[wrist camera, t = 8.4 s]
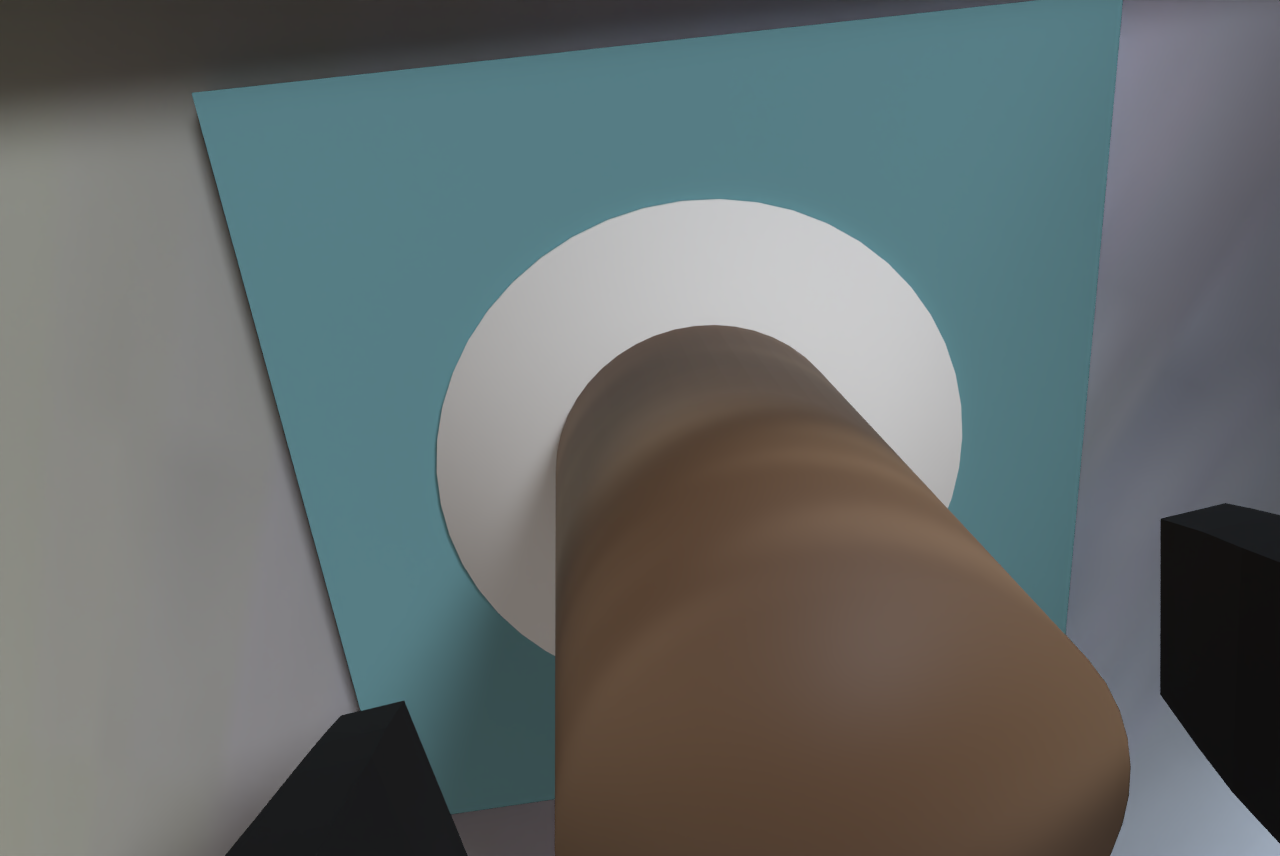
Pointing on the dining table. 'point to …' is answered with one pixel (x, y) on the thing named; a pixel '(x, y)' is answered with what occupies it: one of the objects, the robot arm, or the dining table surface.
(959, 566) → the walnut cylinder
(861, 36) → the mat
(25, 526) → the dining table surface
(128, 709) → the dining table surface
